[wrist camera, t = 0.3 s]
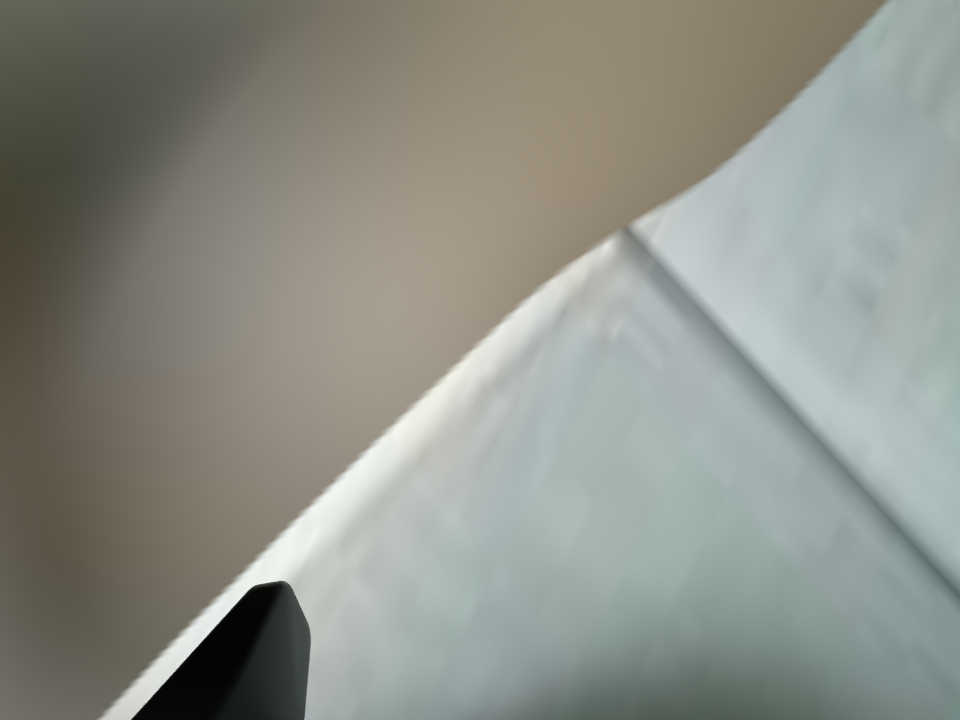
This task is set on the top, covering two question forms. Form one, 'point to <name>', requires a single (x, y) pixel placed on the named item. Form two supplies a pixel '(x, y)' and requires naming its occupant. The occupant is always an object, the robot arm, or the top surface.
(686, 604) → the top surface
